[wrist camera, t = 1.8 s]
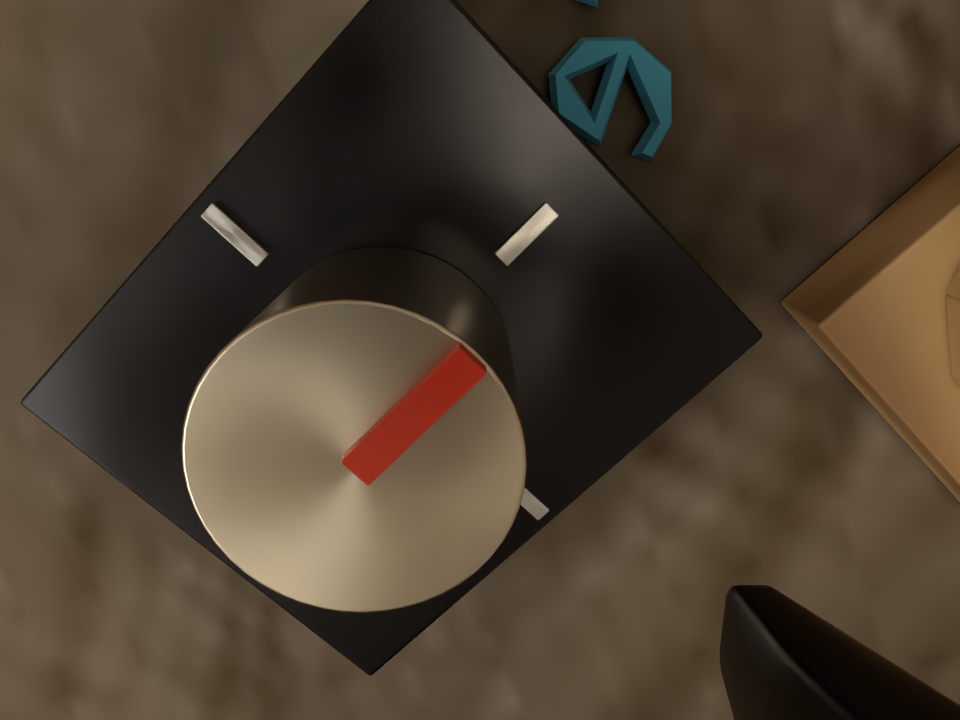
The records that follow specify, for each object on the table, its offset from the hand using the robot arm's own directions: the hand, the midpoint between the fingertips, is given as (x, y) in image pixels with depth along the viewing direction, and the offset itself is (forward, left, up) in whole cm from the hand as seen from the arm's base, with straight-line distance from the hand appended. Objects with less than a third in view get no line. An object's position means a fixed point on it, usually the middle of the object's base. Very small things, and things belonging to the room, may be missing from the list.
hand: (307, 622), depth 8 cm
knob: (0, 0, -8) cm, 8 cm away
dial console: (0, 0, -11) cm, 11 cm away
